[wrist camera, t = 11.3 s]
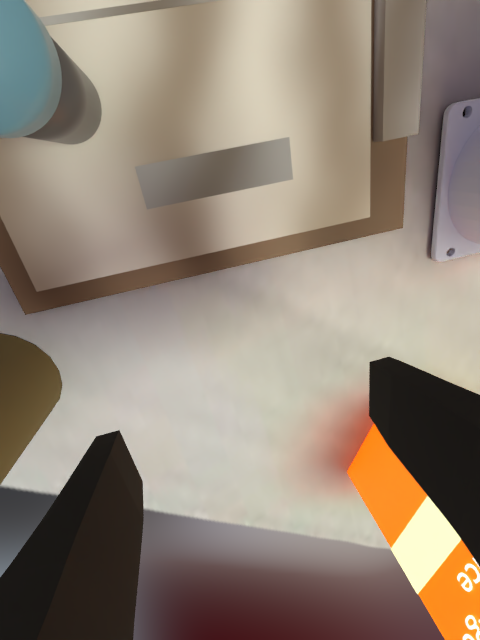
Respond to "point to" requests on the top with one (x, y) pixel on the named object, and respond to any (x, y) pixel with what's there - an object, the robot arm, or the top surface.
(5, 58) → the marker
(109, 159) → the clipboard
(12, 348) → the cork
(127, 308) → the top surface
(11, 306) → the top surface
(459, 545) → the orange juice
